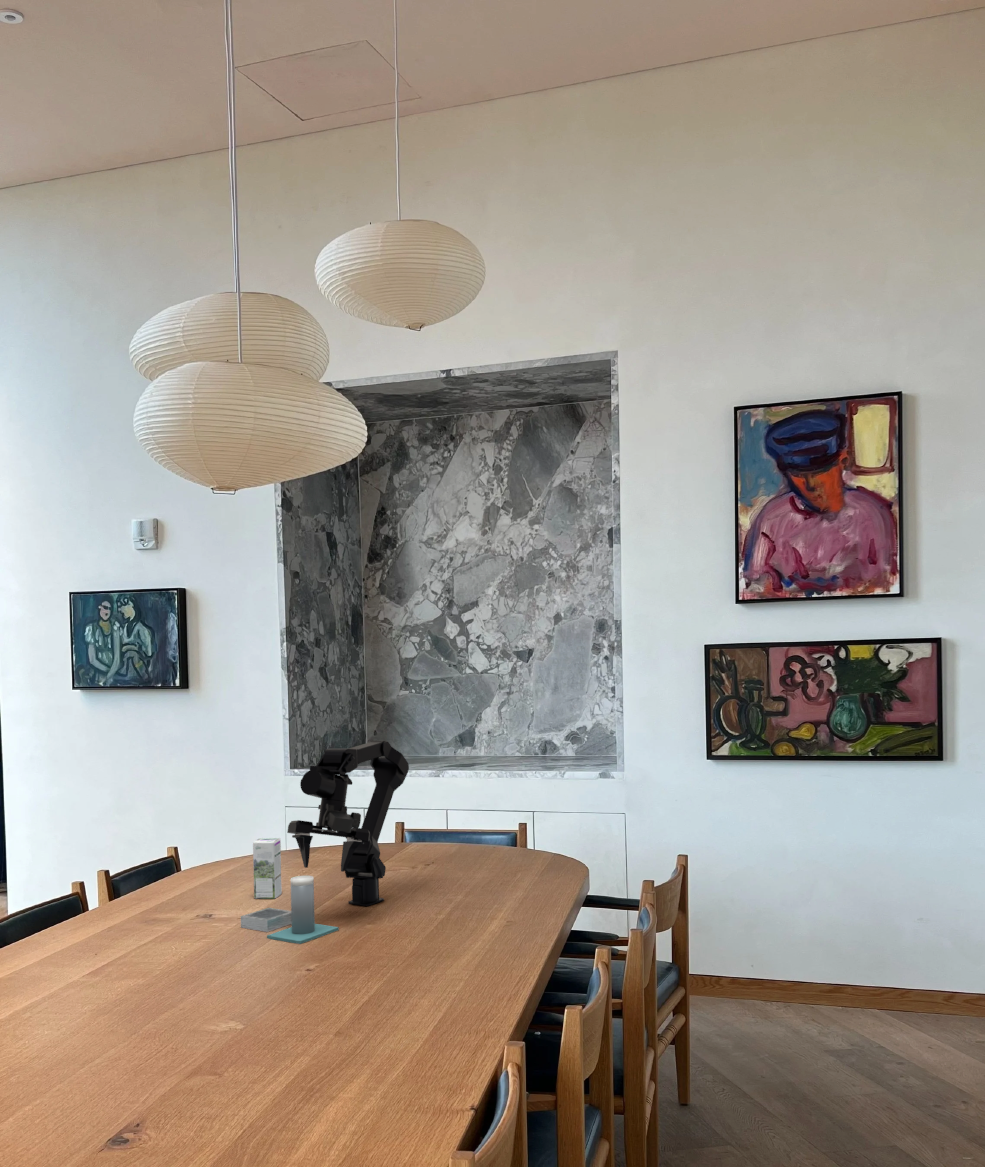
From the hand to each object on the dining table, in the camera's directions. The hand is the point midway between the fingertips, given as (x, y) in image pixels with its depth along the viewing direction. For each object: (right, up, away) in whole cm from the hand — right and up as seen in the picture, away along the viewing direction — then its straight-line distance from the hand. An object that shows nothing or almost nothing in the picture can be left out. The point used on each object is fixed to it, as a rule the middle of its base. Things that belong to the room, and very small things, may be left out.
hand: (324, 869), depth 230 cm
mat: (-3, -11, -12) cm, 16 cm away
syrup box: (-19, -15, +25) cm, 35 cm away
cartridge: (-3, -10, -11) cm, 16 cm away
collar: (-12, -12, -3) cm, 17 cm away
